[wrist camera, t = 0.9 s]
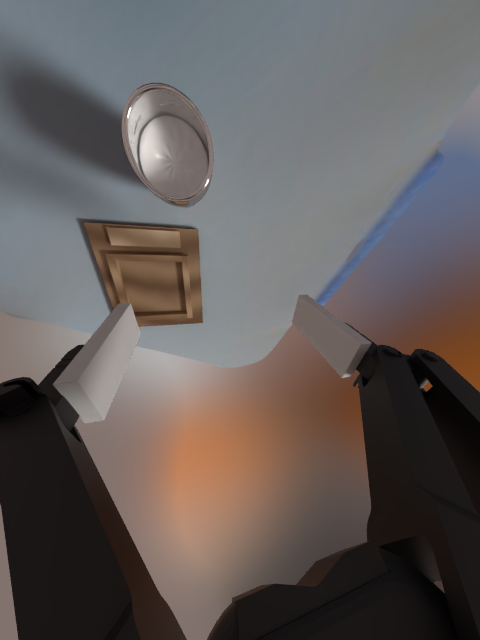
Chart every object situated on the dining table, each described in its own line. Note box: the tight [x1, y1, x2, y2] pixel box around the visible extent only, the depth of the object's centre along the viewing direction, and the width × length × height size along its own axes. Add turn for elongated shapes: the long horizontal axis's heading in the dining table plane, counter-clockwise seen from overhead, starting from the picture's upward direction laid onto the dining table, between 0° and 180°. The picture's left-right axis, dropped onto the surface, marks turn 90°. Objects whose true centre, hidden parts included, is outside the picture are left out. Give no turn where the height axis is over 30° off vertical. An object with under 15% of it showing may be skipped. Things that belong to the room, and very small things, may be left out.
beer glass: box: [122, 83, 214, 208], centre depth 19 cm, size 7×7×15 cm
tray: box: [83, 222, 203, 327], centre depth 31 cm, size 18×16×2 cm
